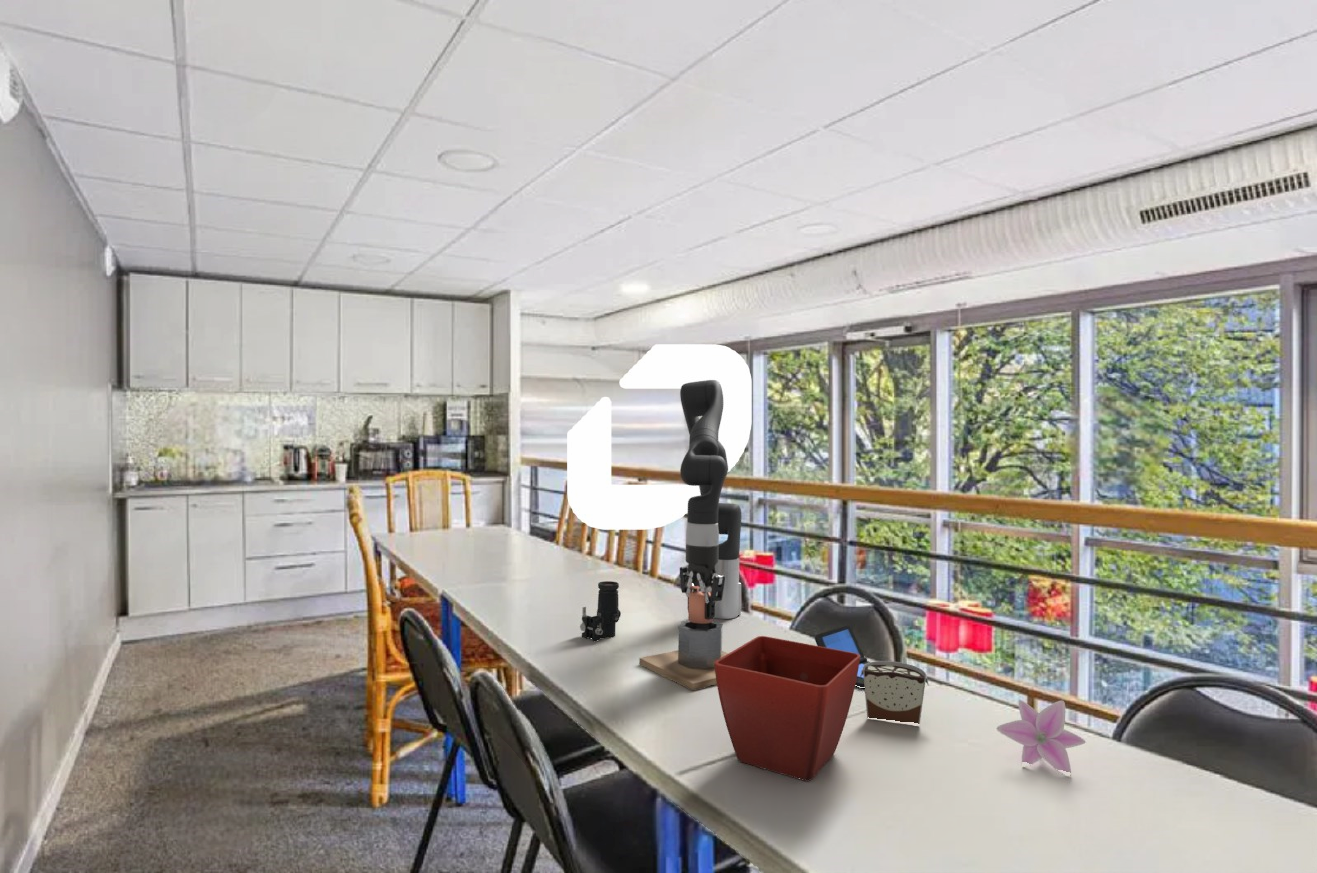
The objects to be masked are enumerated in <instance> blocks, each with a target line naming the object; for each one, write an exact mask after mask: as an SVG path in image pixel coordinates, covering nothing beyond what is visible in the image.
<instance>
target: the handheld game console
mask: <svg viewBox="0 0 1317 873" xmlns="http://www.w3.org/2000/svg"><path fill="white" fill-rule="evenodd" d="M814 641H815V643H816V646H820V647H826V648H831V649H836V650H841V651H847V652H852V653H856V654H859V655H860V662H859V668H858V674H857V679H856V684H855V685H857V686H860V687H864V675H862V676H861V677H860V675H861V671H862V668H863V666H864V665H865V664H867V663H869V662H870V661H868V658H867V657H865V654H864V652H863V651H862V648H861V647H860V645H859V641H858V639H857V637H856V634H855V633H854V630H853V628H852V627H851V626H850V625H848V624H845V625H842V626H839V627H835V628H832V629H830V630H826V631H823V632H820V633H817V634H815V635H814Z"/></svg>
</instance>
